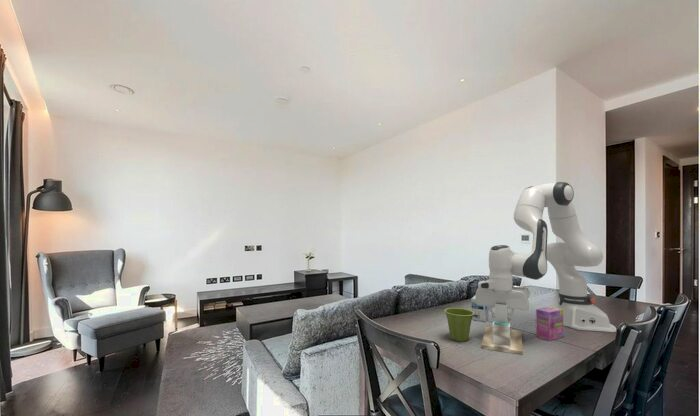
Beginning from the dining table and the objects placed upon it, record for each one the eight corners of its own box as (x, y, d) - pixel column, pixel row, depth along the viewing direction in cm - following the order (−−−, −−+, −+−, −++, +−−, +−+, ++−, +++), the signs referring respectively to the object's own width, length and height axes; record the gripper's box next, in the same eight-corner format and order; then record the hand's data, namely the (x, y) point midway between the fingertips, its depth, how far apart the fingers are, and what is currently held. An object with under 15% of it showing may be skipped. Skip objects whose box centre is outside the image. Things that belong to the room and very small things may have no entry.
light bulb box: (485, 322, 155) (485, 300, 156) (471, 320, 159) (470, 298, 159) (489, 317, 164) (488, 296, 165) (475, 315, 168) (475, 294, 168)
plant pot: (458, 345, 124) (458, 316, 125) (439, 336, 135) (438, 309, 135) (481, 341, 129) (480, 313, 129) (460, 332, 139) (459, 306, 140)
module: (508, 325, 132) (507, 301, 133) (507, 330, 126) (507, 304, 126) (496, 324, 134) (495, 300, 135) (495, 328, 128) (494, 303, 128)
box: (550, 341, 129) (549, 311, 130) (536, 337, 134) (535, 308, 135) (564, 337, 134) (563, 308, 134) (550, 333, 139) (549, 305, 139)
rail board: (521, 333, 138) (520, 313, 138) (522, 354, 115) (521, 329, 115) (486, 328, 144) (486, 309, 145) (481, 348, 121) (480, 324, 122)
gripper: (529, 285, 129) (530, 319, 128) (475, 281, 139) (476, 313, 138) (529, 288, 123) (531, 324, 123) (474, 283, 133) (474, 317, 132)
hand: (501, 318), depth 130 cm, fingers closed on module, 4 cm apart
